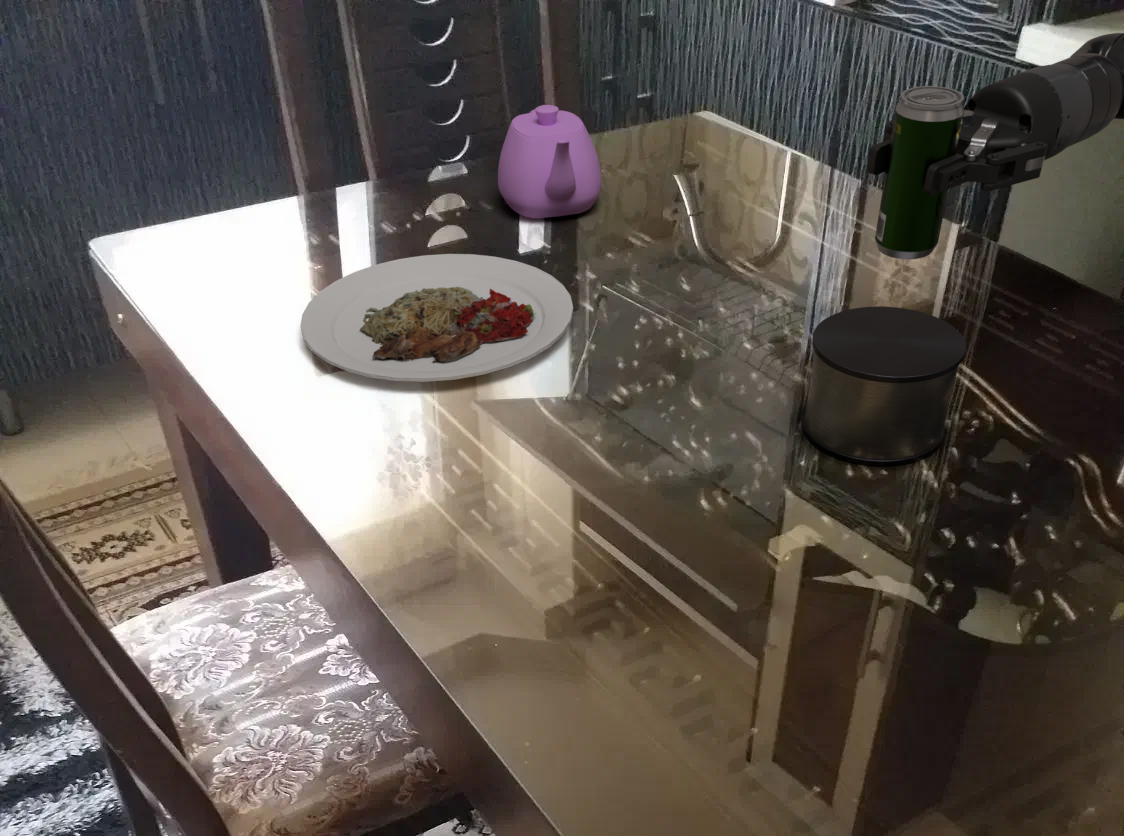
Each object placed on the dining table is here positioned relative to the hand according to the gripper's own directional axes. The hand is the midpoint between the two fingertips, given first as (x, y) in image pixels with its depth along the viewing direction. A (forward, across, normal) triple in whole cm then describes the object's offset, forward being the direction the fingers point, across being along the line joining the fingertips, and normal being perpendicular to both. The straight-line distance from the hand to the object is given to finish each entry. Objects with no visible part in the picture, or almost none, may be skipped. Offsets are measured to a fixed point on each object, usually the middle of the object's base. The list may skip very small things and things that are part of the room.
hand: (900, 171), depth 94 cm
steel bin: (-1, +1, +24) cm, 24 cm away
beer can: (-3, 0, +7) cm, 8 cm away
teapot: (-12, -62, +24) cm, 68 cm away
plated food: (+18, -45, +24) cm, 54 cm away
